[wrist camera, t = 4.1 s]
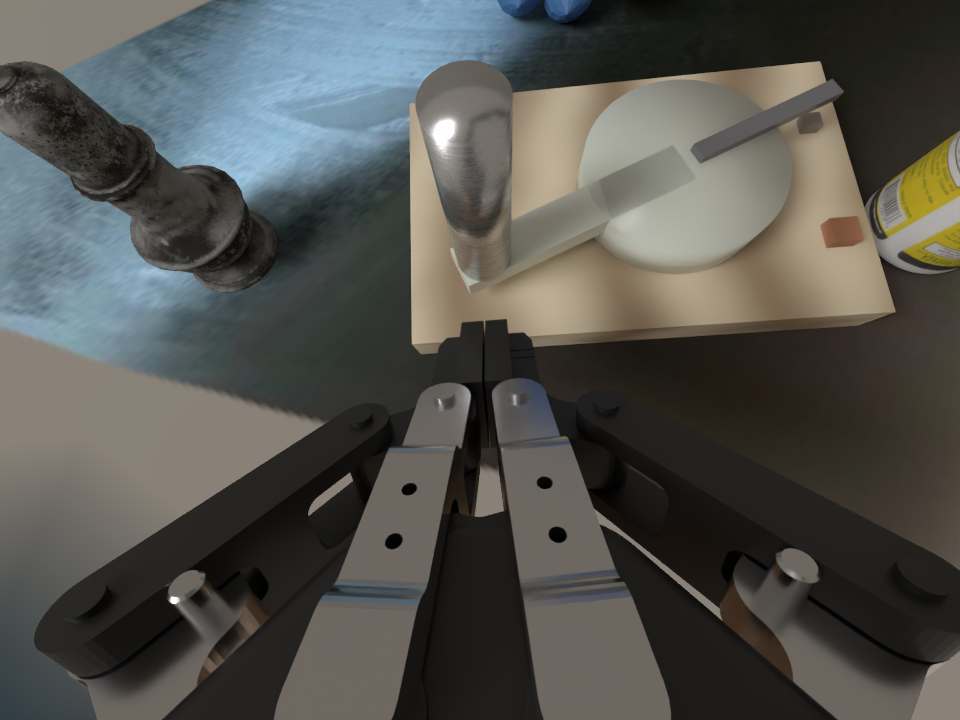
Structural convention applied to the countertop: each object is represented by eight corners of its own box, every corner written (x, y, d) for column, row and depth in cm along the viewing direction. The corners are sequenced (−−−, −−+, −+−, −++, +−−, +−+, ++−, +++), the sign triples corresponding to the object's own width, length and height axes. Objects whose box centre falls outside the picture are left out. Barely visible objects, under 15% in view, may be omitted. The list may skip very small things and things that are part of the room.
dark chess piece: (230, 189, 24) (-26, -51, 13) (302, 235, 23) (95, 18, 12) (166, 265, 24) (-173, 82, 12) (237, 316, 22) (-57, 169, 11)
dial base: (794, 94, 23) (829, 50, 21) (858, 325, 20) (908, 307, 17) (417, 131, 24) (406, 94, 22) (421, 353, 21) (408, 340, 19)
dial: (747, 65, 21) (951, -265, 11) (857, 197, 19) (1221, -68, 9) (427, 212, 20) (354, -3, 11) (504, 366, 18) (500, 272, 9)
